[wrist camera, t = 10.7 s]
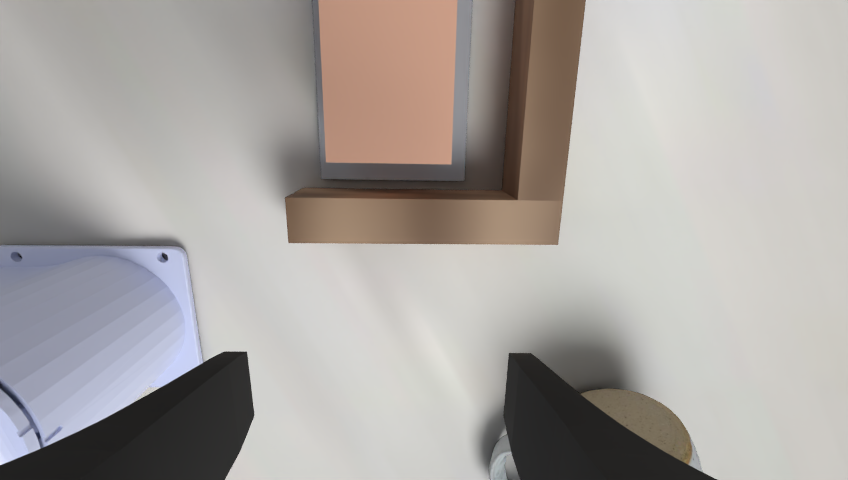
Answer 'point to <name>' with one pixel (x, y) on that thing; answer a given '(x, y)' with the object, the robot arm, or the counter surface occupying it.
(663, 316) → the counter surface
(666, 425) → the ceramic mug
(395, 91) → the block
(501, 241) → the brown l-shaped piece
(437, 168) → the mat
